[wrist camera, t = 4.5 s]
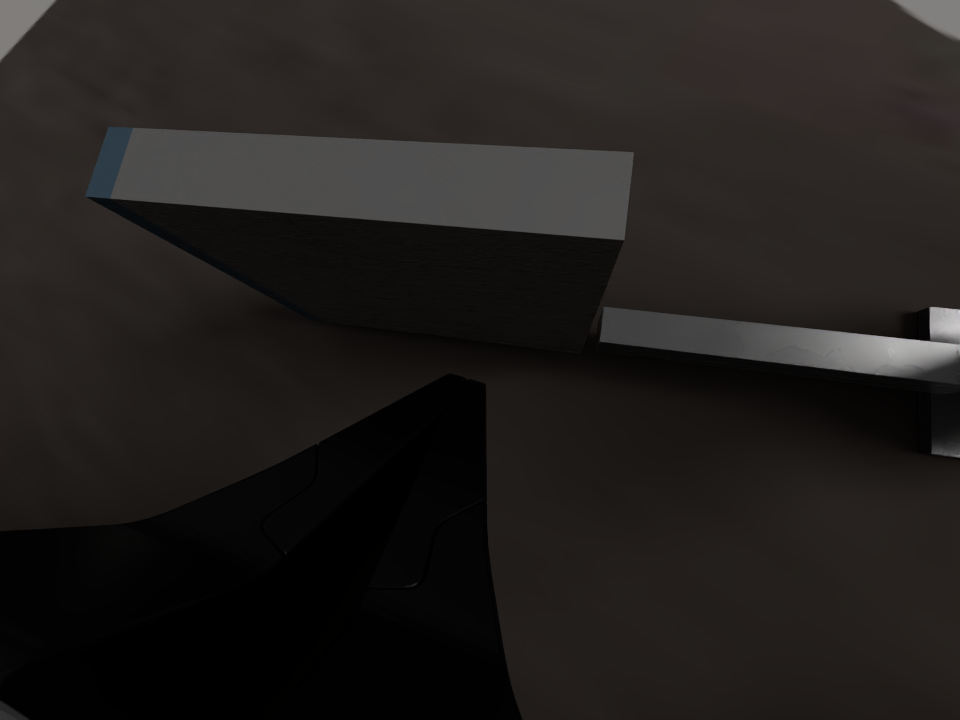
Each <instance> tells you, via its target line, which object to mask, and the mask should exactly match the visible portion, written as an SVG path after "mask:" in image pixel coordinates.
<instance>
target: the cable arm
mask: <svg viewBox="0 0 960 720" xmlns="http://www.w3.org/2000/svg"><path fill="white" fill-rule="evenodd" d="M633 156H634V152H615V151H595V150H574V149H554V148H533V147H513V146H492V145H472V144H451V143H431V142H410V141H390V140H369V139H349V138H328V137H308V136H287V135H267V134H246V133H226V132H205V131H185V130H164V129H144V128H123V127H109V128H108V131H107V134H106V137H105V140H104V143H103V146H102V149H101V152H100V155H99V157H98V160H97V163H96V166H95V169H94V172H93V175H92V178H91V181H90V184H89V187H88V190H87V193H86V196H85V197H87V198H89V199H91V200H93V201H94V202H96V203H98V204H100V205H102V206H104V207H105V208H107V209H109V210H111V211H113V212H115V213H116V214H118V215H120V216H122V217H124V218H126V219H127V220H129V221H131V222H133V223H135V224H137V225H138V226H140V227H142V228H144V229H146V230H147V231H149V232H151V233H153V234H155V235H157V236H158V237H160V238H162V239H164V240H166V241H168V242H169V243H171V244H173V245H175V246H177V247H179V248H180V249H182V250H184V251H186V252H188V253H190V254H191V255H193V256H195V257H197V258H199V259H200V260H202V261H204V262H206V263H208V264H210V265H211V266H213V267H215V268H217V269H219V270H221V271H222V272H224V273H226V274H228V275H230V276H232V277H233V278H235V279H237V280H239V281H241V282H243V283H244V284H246V285H248V286H250V287H252V288H253V289H255V290H257V291H259V292H261V293H263V294H264V295H266V296H268V297H270V298H272V299H274V300H275V301H277V302H279V303H281V304H283V305H285V306H286V307H288V308H290V309H292V310H294V311H296V312H297V313H299V314H301V315H303V316H305V317H307V318H308V319H310V320H314V321H322V322H330V323H338V324H346V325H355V326H363V327H371V328H379V329H387V330H395V331H403V332H411V333H419V334H427V335H435V336H443V337H451V338H459V339H467V340H475V341H483V342H491V343H499V344H507V345H515V346H523V347H531V348H539V349H548V350H556V351H564V352H572V353H580V354H581V352H582V349H583V346H584V344H585V341H586V338H587V336H588V333H589V331H590V328H591V325H592V323H593V320H594V318H595V315H596V312H597V310H598V307H599V305H600V302H601V299H602V297H603V294H604V292H605V289H606V286H607V284H608V281H609V278H610V276H611V273H612V271H613V268H614V265H615V263H616V260H617V258H618V255H619V252H620V250H621V247H622V245H623V242H624V237H625V228H626V219H627V210H628V201H629V192H630V183H631V174H632V165H633ZM595 352H601V353H609V354H617V355H625V356H633V357H642V358H650V359H658V360H666V361H674V362H682V363H690V364H698V365H707V366H715V367H723V368H731V369H739V370H747V371H755V372H763V373H772V374H780V375H788V376H796V377H804V378H812V379H820V380H828V381H837V382H845V383H853V384H861V385H869V386H877V387H885V388H893V389H902V390H910V391H918V392H926V393H934V394H948V393H956V392H960V345H958V344H948V343H939V342H930V341H920V340H911V339H901V338H892V337H883V336H873V335H864V334H854V333H845V332H835V331H826V330H817V329H807V328H798V327H788V326H779V325H769V324H760V323H751V322H741V321H732V320H722V319H713V318H704V317H694V316H685V315H675V314H666V313H656V312H647V311H638V310H628V309H619V308H609V307H604V308H603V310H602V313H601V315H600V317H599V320H598V327H597V336H596V344H595Z"/></svg>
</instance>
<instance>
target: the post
mask: <svg viewBox="0 0 960 720" xmlns="http://www.w3.org/2000/svg"><path fill="white" fill-rule="evenodd" d="M918 340H920V341H930V342H939V343H948V344H958V345H960V310H957V309H946V308H936V307H928V308H926V309H923V310H920V311H918ZM919 453H921V454H928V455H935V456H942V457H949V458H956V459H960V392H956V393H948V394H934V393H926V392H919Z"/></svg>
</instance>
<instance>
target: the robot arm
mask: <svg viewBox="0 0 960 720" xmlns="http://www.w3.org/2000/svg"><path fill="white" fill-rule="evenodd" d="M486 502H487V459H486V385H485V384H484V383H482V382H478V381H475V380H472V379H469V380H467V379H466V378H464V377H461V376H458V375H454V374H447V375H445V376H443V377H441V378H439V379H437V380H435V381H433V382H432V383H430V384H428V385H426V386H424V387H422V388H420V389H418V390H417V391H415V392H413V393H411V394H409V395H407V396H405V397H403V398H402V399H400V400H398V401H396V402H394V403H392V404H390V405H388V406H387V407H385V408H383V409H381V410H379V411H377V412H375V413H373V414H372V415H370V416H368V417H366V418H364V419H362V420H360V421H358V422H357V423H355V424H353V425H351V426H349V427H347V428H345V429H343V430H342V431H340V432H338V433H336V434H334V435H332V436H330V437H329V438H327V439H325V440H323V441H321V442H320V443H319V446H318V445H317V444H315V445H313V446H311V447H309V448H308V449H306V450H304V451H302V452H300V453H298V454H296V455H294V456H292V457H290V458H288V459H286V460H284V461H282V462H280V463H278V464H276V465H274V466H272V467H270V468H268V469H266V470H263V471H261V472H259V473H257V474H254V475H252V476H250V477H248V478H246V479H243V480H241V481H239V482H236V483H234V484H232V485H229V486H227V487H225V488H222V489H220V490H218V491H215V492H213V493H211V494H208V495H206V496H204V497H201V498H199V499H197V500H194V501H192V502H190V503H187V504H185V505H183V506H180V507H178V508H176V509H173V510H171V511H168V512H166V513H163V514H160V515H157V516H154V517H151V518H148V519H144V520H140V521H136V522H131V523H124V524H116V525H102V526H84V527H67V528H50V529H32V530H15V531H0V720H522V717H521V714H520V711H519V709H518V706H517V703H516V700H515V697H514V693H513V690H512V686H511V682H510V678H509V674H508V669H507V664H506V659H505V654H504V648H503V642H502V636H501V630H500V623H499V617H498V611H497V605H496V598H495V592H494V586H493V580H492V573H491V565H490V557H489V549H488V532H487V504H486Z"/></svg>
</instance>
